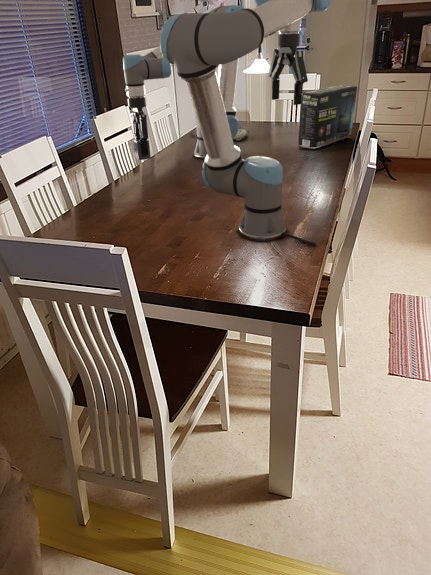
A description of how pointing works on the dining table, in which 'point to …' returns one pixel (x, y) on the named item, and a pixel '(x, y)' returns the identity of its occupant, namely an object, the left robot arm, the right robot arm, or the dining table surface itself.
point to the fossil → (241, 133)
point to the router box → (326, 115)
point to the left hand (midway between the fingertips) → (142, 153)
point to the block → (138, 150)
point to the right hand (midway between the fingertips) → (286, 102)
